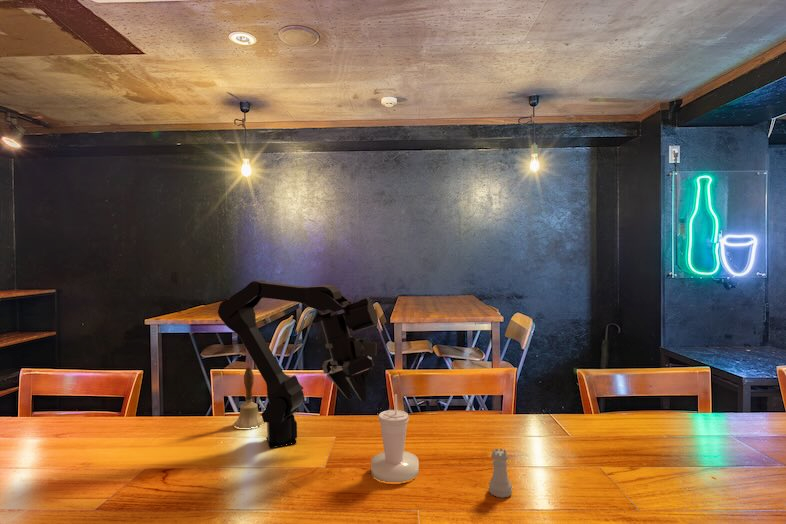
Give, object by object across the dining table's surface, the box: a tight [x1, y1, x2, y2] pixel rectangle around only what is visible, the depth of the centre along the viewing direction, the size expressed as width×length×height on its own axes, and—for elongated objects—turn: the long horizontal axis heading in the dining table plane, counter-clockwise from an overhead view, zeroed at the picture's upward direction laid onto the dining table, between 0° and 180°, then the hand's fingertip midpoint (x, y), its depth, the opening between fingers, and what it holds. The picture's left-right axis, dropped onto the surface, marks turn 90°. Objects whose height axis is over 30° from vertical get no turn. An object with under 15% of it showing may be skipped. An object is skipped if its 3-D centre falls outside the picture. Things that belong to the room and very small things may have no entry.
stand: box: [370, 450, 420, 482], centre depth 94 cm, size 10×10×2 cm
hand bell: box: [233, 366, 266, 428], centre depth 124 cm, size 8×8×16 cm
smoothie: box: [378, 393, 410, 464], centre depth 94 cm, size 6×6×14 cm
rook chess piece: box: [488, 447, 513, 499], centre depth 86 cm, size 4×4×8 cm
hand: (356, 399), depth 106 cm, fingers open, 9 cm apart
